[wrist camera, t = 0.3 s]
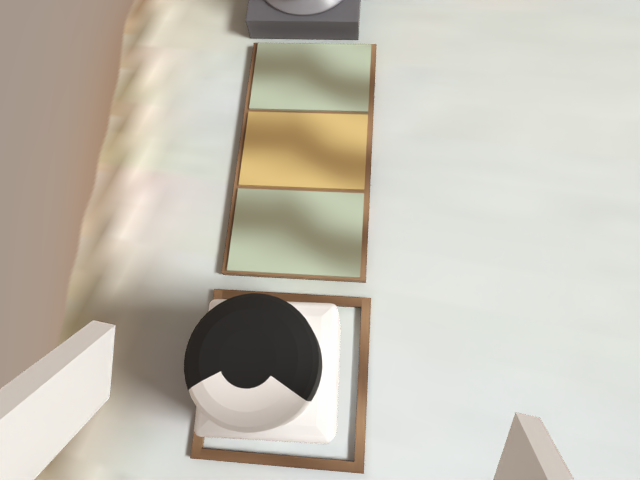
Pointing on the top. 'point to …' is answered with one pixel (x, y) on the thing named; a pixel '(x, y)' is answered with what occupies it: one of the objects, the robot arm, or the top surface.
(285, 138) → the track
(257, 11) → the popper base
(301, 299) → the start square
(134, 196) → the top surface
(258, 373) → the medicine bottle
